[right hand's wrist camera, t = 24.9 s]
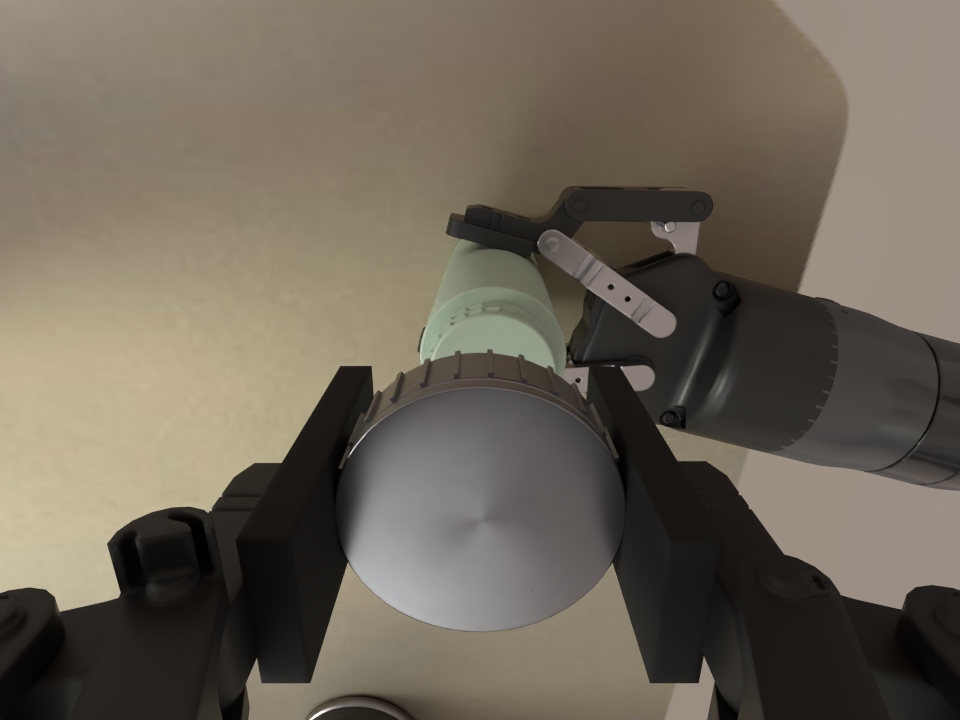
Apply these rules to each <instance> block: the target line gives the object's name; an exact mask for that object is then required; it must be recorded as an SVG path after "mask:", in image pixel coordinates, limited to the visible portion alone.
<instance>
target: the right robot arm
mask: <svg viewBox="0 0 960 720" xmlns="http://www.w3.org/2000/svg"><path fill="white" fill-rule="evenodd" d="M373 398H374V394H373V380H372V366H340V368H339V370H338V371H337V373H336V375H335V376H334V378H333V380H332V381H331V383H330V384H329V386H328V388H327V389H326V391H325V393H324V394H323V396H322V398H321V399H320V401H319V403H318V404H317V406H316V408H315V409H314V411H313V412H312V414H311V416H310V417H309V419H308V421H307V422H306V424H305V426H304V427H303V429H302V431H301V432H300V434H299V436H298V437H297V439H296V441H295V442H294V444H293V445H292V447H291V449H290V450H289V452H288V454H287V455H286V457H285V459H284V460H283V462H282V463H254V464H253V465H251V466H250V467H248V468H247V469H245V470H244V471H243V472H241V473H240V474H238V475H237V476H235V477H234V478H233V480H232V481H231V482H230V484H229V485H228V486H227V488H226V489H225V491H224V492H223V493H222V497H220V498H219V499H218V500H217V502H216V503H215V504H214V506H213V507H212V511H209V513H207V512H206V511H205V510H202V509H197V508H193V507H174V508H168V509H164V510H160V511H156V512H152V513H149V514H147V515H145V516H142V517H140V518H138V519H136V520H133V521H132V522H130V523H129V524H127V525H126V526H124V527H123V528H122V529H120V530H119V531H117V532H116V534H115V535H114V536H113V537H112V538H111V540H110V541H109V542H108V543H107V545H108V549H109V552H110V556H111V559H112V563H113V567H114V570H115V574H116V577H117V581H118V584H119V588H120V591H121V594H120V596H119V598H117V599H113V600H110V601H107V602H102V603H98V604H93V605H89V606H84V607H80V608H76V609H71V610H67V611H62V612H59V609H58V606H57V603H56V600H55V597H54V596H53V595H51V594H50V593H49V592H48V591H47V590H44V589H37V588H23V589H16V590H9V591H6V592H3V593H0V720H248V717H249V700H248V693H247V688H246V682H247V679H248V677H249V675H250V672H251V670H252V668H253V665H254V663H255V661H256V658H257V660H258V666H259V671H260V676H261V682H262V683H310V682H311V679H312V676H313V672H314V669H315V666H316V663H317V660H318V656H319V653H320V650H321V647H322V643H323V640H324V637H325V634H326V631H327V627H328V624H329V621H330V618H331V614H332V611H333V608H334V605H335V602H336V598H337V595H338V592H339V589H340V585H341V582H342V579H343V576H344V573H345V569H346V566H347V563H348V561H347V559H346V557H345V555H344V553H343V550H342V548H341V545H340V542H339V540H338V536H337V529H336V520H335V510H334V498H335V489H336V485H337V482H338V478H339V474H340V473H338V467H339V465H340V462H341V460H342V458H343V455H344V453H345V451H346V448H347V446H348V445H347V444H348V442H349V439H350V437H351V435H352V432H353V430H354V428H355V425H356V423H357V421H358V418H359V416H360V414H361V413H363V414H366V412H367V411H368V409H369V408H370V406H371V403H372V401H373ZM586 401H587V403H588V404H589V405H591V404H592V403H593V404H594V405H595V407H596V409H597V411H598V414H599V416H600V418H601V421H602V423H603V425H604V428H607V430H608V432H609V435H610V437H611V439H612V442H613V444H614V446H615V449H616V451H617V453H618V456H619V458H620V462H617V465H618V467H619V470H620V473H621V476H622V479H623V482H624V486H625V492H626V499H627V503H626V514H625V524H624V532H623V538H622V541H621V544H620V547H619V550H618V552H617V554H616V556H615V558H614V560H613V565H614V568H615V571H616V575H617V578H618V581H619V584H620V588H621V591H622V594H623V597H624V600H625V604H626V607H627V610H628V613H629V617H630V620H631V623H632V626H633V629H634V633H635V636H636V639H637V642H638V646H639V649H640V652H641V655H642V658H643V662H644V665H645V668H646V671H647V674H648V678H649V681H650V683H699V678H700V673H701V668H702V662H703V657H705V659H706V661H707V664H708V666H709V668H710V671H711V673H712V675H713V678H714V680H715V683H714V688H713V693H712V698H711V703H710V709H709V714H708V719H707V720H960V590H957V589H954V588H948V587H941V586H934V585H930V586H922V587H916V588H914V589H913V590H912V591H911V592H909V593H908V594H907V595H906V598H905V601H904V604H903V607H902V610H900V609H896V608H891V607H887V606H882V605H878V604H873V603H869V602H864V601H860V600H856V599H852V598H849V597H845V596H842V595H840V593H839V591H838V590H837V588H836V587H835V585H834V584H833V582H832V581H831V579H830V578H828V577H827V576H826V575H825V574H823V573H822V572H821V571H819V570H818V569H817V568H816V567H814V566H812V565H810V564H808V563H806V562H804V561H802V560H800V559H798V558H795V557H791V556H787V555H784V554H783V552H782V551H781V550H780V548H779V547H778V546H777V544H776V543H775V541H774V540H773V539H772V537H771V536H770V535H769V533H768V532H767V530H766V529H765V528H764V526H763V525H762V524H761V522H760V521H759V519H758V518H757V517H756V515H755V514H754V512H753V511H752V510H751V509H749V506H748V504H747V503H746V502H745V500H744V499H743V497H742V496H741V495H739V492H738V490H737V489H736V488H735V486H734V485H733V484H732V482H731V481H730V479H729V478H728V477H727V475H725V474H724V473H722V472H721V471H719V470H718V469H716V468H715V467H713V466H712V465H711V464H709V463H708V462H706V461H677V460H676V458H675V456H674V455H673V453H672V451H671V450H670V448H669V447H668V445H667V443H666V442H665V440H664V438H663V437H662V435H661V433H660V432H659V430H658V428H657V427H656V425H655V423H654V422H653V420H652V418H651V417H650V415H649V414H648V412H647V410H646V409H645V407H644V405H643V404H642V402H641V400H640V399H639V397H638V395H637V394H636V392H635V390H634V389H633V387H632V386H631V384H630V382H629V381H628V379H627V377H626V376H625V374H624V372H623V371H622V369H621V367H620V366H589V371H588V385H587V398H586Z"/></svg>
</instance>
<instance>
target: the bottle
mask: <svg viewBox="0 0 960 720" xmlns="http://www.w3.org/2000/svg"><path fill="white" fill-rule="evenodd" d="M487 349H492V350H493V353H496V354H503V355H509V356H514V357H517V358H518V355H519V354H521V355H524V358H525V360H528V361H531V362H533V363H535V364H538V365H540V366H542V367H545V368H547V366H548V365H549V366H551V367H553V370H554V373H555V374H557V375H558V376H560V377H561V378H562V377H563V374H564V370H565V366H566V356H567V353H566V343H565V338H564V335H563V332H562V329H561V327H560V324H559V321H558V319H557V316H556V313H555V311H554V308H553V305H552V303H551V300H550V297H549V295H548V292H547V289H546V287H545V284H544V281H543V279H542V276H541V273H540V271H539V268H538V265H537V263H536V260H535V257H534V255H533V252H532V254H531V257H527V256H523V255H519V254H515V253H512V252H509V251H506V250H501V249H497V248H493V247H490V246H486V245H482V244H478V243H475V242H471V241H467V240H464V239H460V240H459V242H458V243H457V244H456V246H455V248H454V249H453V252H452V254H451V257H450V260H449V262H448V265H447V268H446V271H445V274H444V277H443V279H442V282H441V285H440V288H439V291H438V293H437V296H436V299H435V302H434V305H433V308H432V310H431V313H430V316H429V319H428V322H427V325H426V327H425V330H424V333H423V337H422V341H421V347H420V363H421V365H423V364H424V360H425V359H427V358H430V360H431V361H433V360H436V359H439V358H443V357H447V356H452V355H455V351H459V350H460V351H461V354H466V353H487Z"/></svg>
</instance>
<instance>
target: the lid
mask: <svg viewBox="0 0 960 720" xmlns="http://www.w3.org/2000/svg"><path fill="white" fill-rule="evenodd" d="M347 445H348V446H347V448H346V451H345V453H344V455H343V458H342V460H341V462H340V465H339V467H338V473H340V474H339V478H338V482H337V485H336V489H335V498H334V510H335V520H336V529H337V536H338V540H339V542H340V545H341V548H342V550H343V553H344V555H345V557H346V559H347V561H348V562H349V564H350V566H351V568H352V569H353V570H354V572H355V573H356V574H357V576H358V577H359V578H360V580H361V581H362V582H363V583H364V584H365V585H366V586H367V587H368V588H369V589H370V590H371V591H372V592H373V593H374V594H375V595H376V596H378V597H379V598H380V599H381V600H383V601H384V602H385V603H386V604H388V605H390V606H391V607H393V608H394V609H396V610H398V611H399V612H401V613H403V614H405V615H407V616H409V617H412V618H414V619H416V620H419V621H421V622H424V623H427V624H430V625H433V626H437V627H442V628H446V629H451V630H459V631H466V632H491V631H503V630H509V629H515V628H520V627H523V626H527V625H530V624H534V623H537V622H539V621H542V620H544V619H547V618H549V617H552V616H554V615H555V614H557V613H559V612H561V611H563V610H565V609H567V608H568V607H569V606H571V605H572V604H574V603H575V602H577V601H578V600H580V599H581V598H582V597H583V596H584V595H585V594H587V593H588V592H589V591H590V590H591V589H592V588H593V587H594V586H595V585H596V584H597V583H598V581H599V580H600V579H601V578H602V577H603V576H604V574H605V573H606V571H607V570H608V568H609V567H610V565H611V564H612V562H613V560H614V558H615V556H616V554H617V552H618V550H619V547H620V544H621V541H622V538H623V532H624V524H625V514H626V503H627V499H626V492H625V486H624V482H623V479H622V476H621V473H620V470H619V467H618V465H617V462H620V458H619V456H618V453H617V451H616V449H615V446H614V444H613V442H612V439H611V437H610V435H609V432H608V430H607V428H604V425H603V423H602V421H601V418H600V416H599V414H598V411H597V409H596V407H595V405H594V404H593V403H592V404H591V405H589V404H588V403H587V401H586V400H585V399H584V398H583V397H582V395H581V394H580V392H579V389H578V386H577V385H576V384H575V383H574V382H573V383H572V384H571V385H570V384H569V383H568V382H566V381H565V380H564V379H563V378H561V377H560V376H558V375H557V374H555V373H554V370H553V367H551V366H549V365H548V366H547V368H545V367H542V366H540V365H538V364H535V363H533V362H531V361H528V360H525V358H524V355H521V354H519V355H518V358H517V357H514V356H509V355H503V354H496V353H493V350H492V349H487V353H466V354H461V351H460V350H459V351H455V355H452V356H447V357H443V358H439V359H436V360H433V361H431V360H430V358H427V359H425V360H424V364H423V365H421V366H419V367H417V368H415V369H413V370H411V371H409V372H407V373H406V374H403V372H400V373H398V374H397V377H396V380H395V381H394V382H393V383H392V384H390V385H389V386H388V387H387V388H386V389H385V390H384V391H383V392H380V391H379V390H378V391H377V392H376V393H375V396H374V398H373V401H372V403H371V406H370V408H369V409H368V411H367V412H366V414H363V413H361V414H360V416H359V418H358V421H357V423H356V425H355V428H354V430H353V432H352V435H351V437H350V439H349V442H348V444H347Z"/></svg>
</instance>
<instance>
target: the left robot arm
mask: <svg viewBox="0 0 960 720" xmlns="http://www.w3.org/2000/svg"><path fill="white" fill-rule="evenodd" d="M712 209H713V201H712V199H711V197H710V196H709V195H708V194H706V193H704V192H700V191H696V190H692V189H688V188H683V187H613V186H570V187H567V188H566V189H564V190H563V191H562V193H561V195H560V198H559V200H558V201H557V202H556V204H555V205H554V207H553V208H552V209H551V211H550V212H549V213H548V214H547V215H546V216H544V217H542V218H538V219H533V218H528V217H525V216H521V215H517V214H514V213H510V212H507V211H503V210H499V209H496V208H492V207H488V206H485V205H481V204H477V205H469V206H467V209H466V213H465V216H464V215H460V214H455V213H452V214H451V216H450V218H449V222H448V226H447V231H446V234H448V235H450V236H453V237H456V238H460V239H464V240H467V241H471V242H475V243H478V244H482V245H486V246H490V247H493V248H497V249H501V250H506V251H509V252H512V253H515V254H519V255H523V256H527V257H531V254H532V252H534V253H538V254H541V255H543V256H544V257H545V258H547V259H548V260H550V261H551V262H553V263H554V264H555V265H557V266H558V267H560V268H561V269H562V270H564V271H565V272H567V273H568V274H570V275H571V276H572V277H574V278H575V279H576V280H577V281H578V282H580V283H581V284H582V285H583V286H585V287H586V288H587V292H586V295H585V298H584V304H583V317H582V319H581V320H580V322H579V323H578V325H577V326H576V328H575V329H574V331H573V333H572V336H571V339H570V342H569V343H566V353H567V356H566V366H565V370H564V374H563V377H562V378H563V379H564V380H565V381H566V382H568V383H569V384H570V385H571V384H572V383H573V382H574V383H575V384H576V385H577V386H578V389H579V392H580V393H584V392H587V385H588V371H589V366H620V367H621V369H622V371H623V372H624V374H625V376H626V377H627V379H628V381H629V382H630V384H631V386H632V387H633V389H634V390H635V392H636V394H637V395H638V397H639V399H640V400H641V402H642V404H643V405H644V407H645V409H646V410H647V412H648V414H649V415H650V417H651V418H652V420H653V422H654V423H655V424H659V425H663V426H666V427H669V428H672V429H675V430H678V431H681V432H685V433H689V434H693V435H697V436H701V437H705V438H709V439H713V440H717V441H721V442H725V443H729V444H733V445H737V446H741V447H745V448H749V449H753V450H758V451H761V452H766V453H770V454H774V455H778V456H782V457H786V458H790V459H794V460H798V461H802V462H806V463H811V464H816V465H821V466H829V467H841V468H849V469H855V470H860V471H864V472H868V473H872V474H876V475H880V476H884V477H888V478H892V479H896V480H900V481H904V482H908V483H911V484H916V485H920V486H925V487H930V488H937V489H944V490H957V491H960V344H959V343H954V342H951V341H947V340H943V339H940V338H936V337H932V336H929V335H925V334H922V333H918V332H914V331H910V330H908V329H905V328H902V327H899V326H896V325H894V324H892V323H889V322H887V321H885V320H883V319H881V318H878V317H876V316H874V315H871V314H869V313H865V312H862V311H859V310H856V309H852V308H849V307H845V306H842V305H840V304H838V303H836V302H834V301H833V300H829V299H825V298H818V297H815V298H812V297H809V296H805V295H802V294H798V293H794V292H791V291H787V290H783V289H780V288H776V287H772V286H769V285H765V284H761V283H758V282H754V281H750V280H747V279H743V278H739V277H736V276H732V275H728V274H725V273H721V272H718V271H715V270H712V269H711V268H709V267H708V266H707V264H706V263H705V262H704V261H703V260H702V259H701V258H700V257H698V256H696V250H697V243H698V236H699V229H700V222H701V221H703V220H705V219H706V218H708V216H709V215H710V214H711V212H712ZM584 221H637V222H646V227H647V229H648V231H649V232H650V233H651V234H653V235H655V236H657V237H658V238H661V239H666V241H667V242H668V245H669V250H668V251H665V252H663V253H660V254H657V255H654V256H652V257H649V258H646V259H644V260H641V261H638V262H635V263H633V264H630V265H627V266H624V267H622V268H619V269H617V268H615V267H614V266H613V265H611V264H610V263H608V262H607V261H606V260H604V259H603V258H602V257H600V256H599V255H597V254H596V253H595V252H593V251H592V250H590V249H589V248H588V247H586V246H584V245H583V244H581V243H580V242H578V241H577V240H576V239H574V238H573V235H574V234H575V233H576V231H577V230H578V229H579V227H580V226H581V225H582V223H583V222H584ZM424 330H425V327H424V328H423V331H422V334H421V337H420V341H419V345H418V352H419V353H420V347H421V341H422V337H423V333H424ZM569 355H570V356H569ZM568 356H569V357H568ZM576 378H578V379H576ZM306 720H412V719H411V718H410V717H409V716H408V715H407V714H406V713H405V712H403V711H402V710H400V709H399V708H397V707H395V706H393V705H391V704H389V703H387V702H384V701H381V700H377V699H373V698H366V697H346V698H340V699H336V700H332V701H329V702H327V703H325V704H323V705H321V706H319V707H318V708H316V709H315V710H314V711H313V712H312V713H311V714H310V715H309V716H308V717H307V719H306Z"/></svg>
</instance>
